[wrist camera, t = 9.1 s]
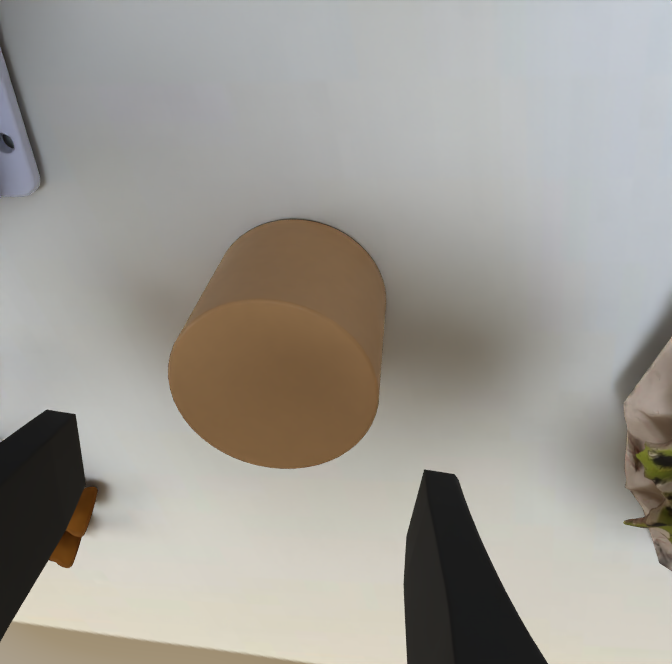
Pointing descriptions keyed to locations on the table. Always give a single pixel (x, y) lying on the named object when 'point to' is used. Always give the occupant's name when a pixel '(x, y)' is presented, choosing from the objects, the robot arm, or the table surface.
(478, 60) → the table surface
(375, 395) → the brown cylinder block
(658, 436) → the bear figurine
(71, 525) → the toy figurine
